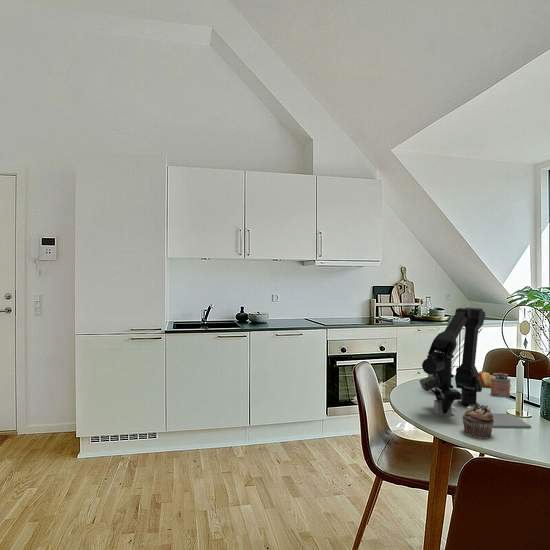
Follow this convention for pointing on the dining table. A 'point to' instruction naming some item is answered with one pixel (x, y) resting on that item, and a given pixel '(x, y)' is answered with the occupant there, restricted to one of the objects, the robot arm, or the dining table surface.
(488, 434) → the cupcake
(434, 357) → the robot arm
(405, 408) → the dining table surface
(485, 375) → the croissant
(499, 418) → the coaster
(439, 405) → the plug
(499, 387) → the lighter
